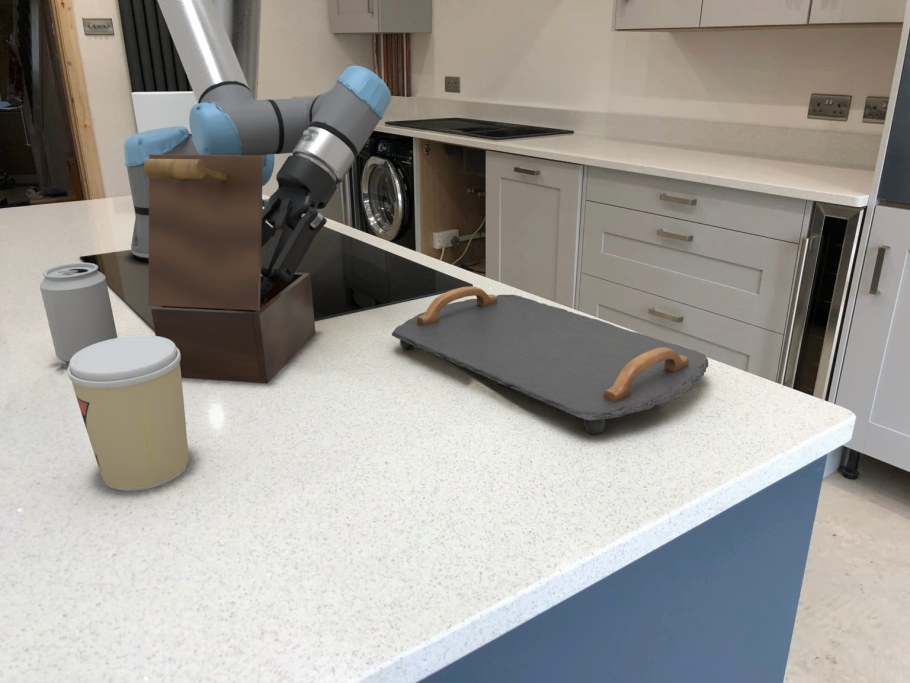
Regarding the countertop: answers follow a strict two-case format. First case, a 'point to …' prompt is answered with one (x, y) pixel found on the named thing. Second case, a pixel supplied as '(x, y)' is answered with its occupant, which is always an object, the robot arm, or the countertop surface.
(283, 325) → the chest
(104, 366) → the coffee cup
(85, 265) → the can
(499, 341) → the serving tray
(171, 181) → the lid
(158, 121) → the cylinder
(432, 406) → the countertop surface
